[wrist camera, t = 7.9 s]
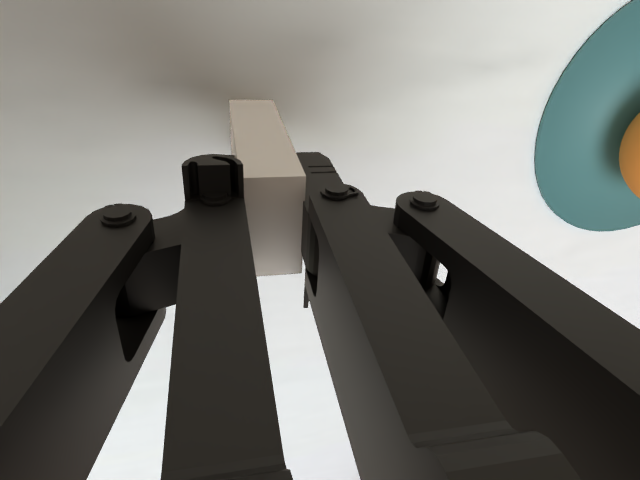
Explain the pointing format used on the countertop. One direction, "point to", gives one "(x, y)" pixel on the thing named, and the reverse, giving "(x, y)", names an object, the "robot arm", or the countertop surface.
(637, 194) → the ball
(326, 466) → the countertop surface
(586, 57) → the disc
